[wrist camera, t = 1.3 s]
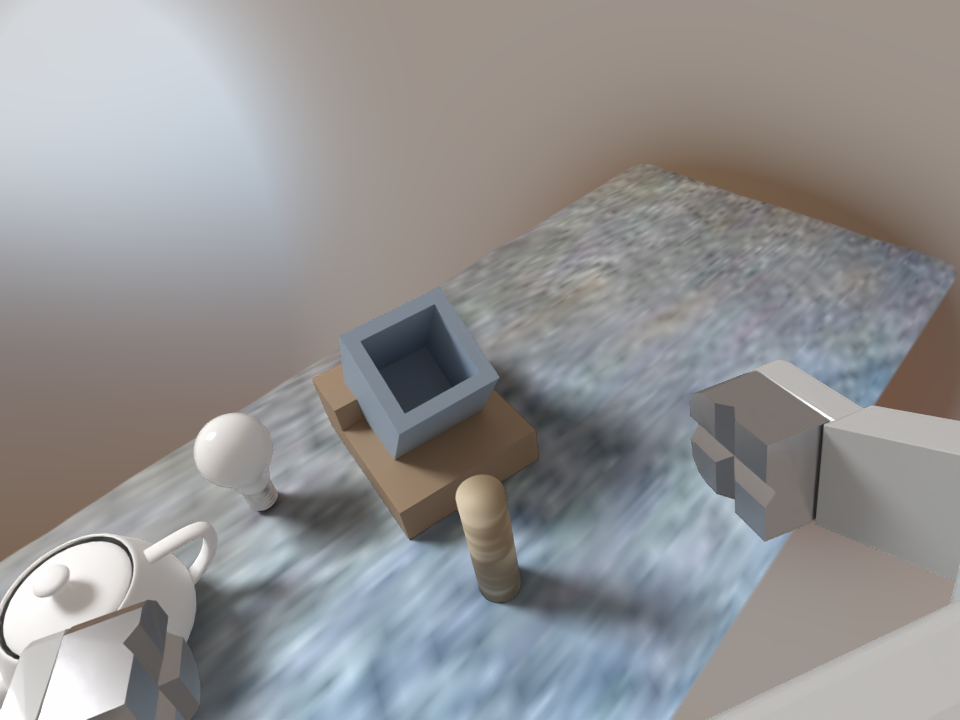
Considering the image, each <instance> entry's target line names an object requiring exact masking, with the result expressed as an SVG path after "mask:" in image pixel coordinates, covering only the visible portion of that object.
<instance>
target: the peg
mask: <svg viewBox="0 0 960 720" xmlns="http://www.w3.org/2000/svg"><path fill="white" fill-rule="evenodd" d="M456 503H457V507H458V511H459V514H460V518H461V522H462V526H463V529H464V533H465V537H466V541H467V544H468V548H469V552H470V555H471V559H472V563H473V567H474V570H475V574H476V578H477V582H478V585H479V589H480V592H481V594H482V595H483V596H484V597H485V598H486V599H487V600H489V601H491V602H495V603H503V602H507V601H509V600H511V599H512V598H514V597H515V596H516V594H517V593H518V591H519V589H520V586H521V578H520V573H519V567H518V561H517V556H516V550H515V544H514V539H513V533H512V527H511V522H510V516H509V510H508V505H507V499H506V493H505V488H504V486H503V484H502V483H501V482H500V481H499V480H498V479H497V478H495V477H493V476H490V475H475V476H472V477H470V478H468V479H466V480H465V481H464V482H462V483H461V485H460V486H459V487H458V489H457V492H456Z"/></svg>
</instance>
